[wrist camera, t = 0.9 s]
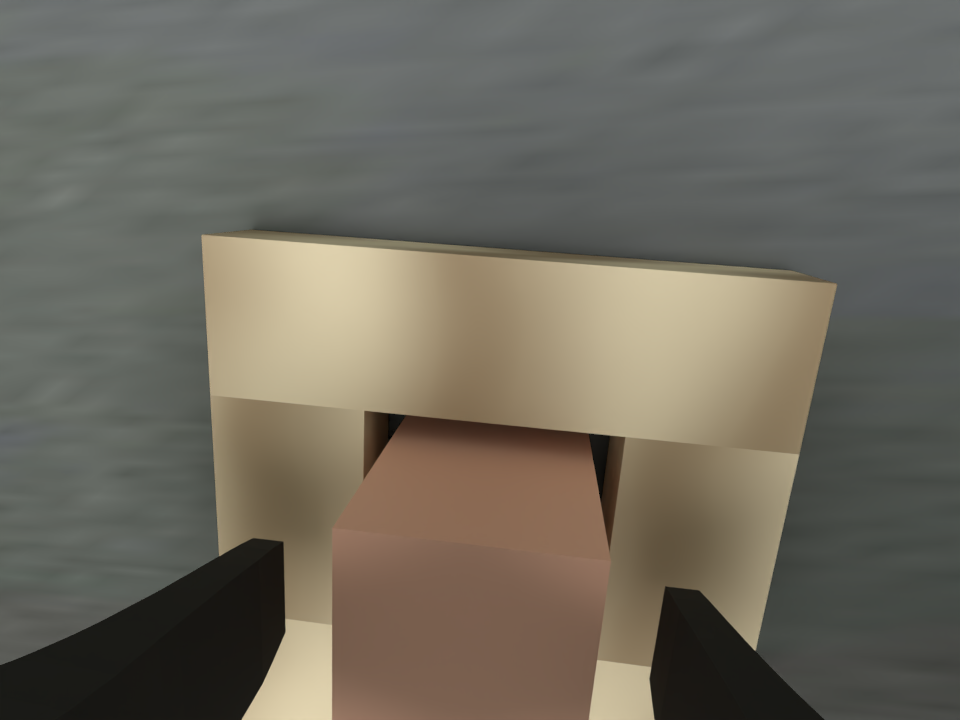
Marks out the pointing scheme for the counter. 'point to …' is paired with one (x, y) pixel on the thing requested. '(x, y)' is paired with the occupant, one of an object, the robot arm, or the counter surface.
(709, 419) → the maple pocket holder
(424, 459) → the terracotta block
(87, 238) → the counter surface
